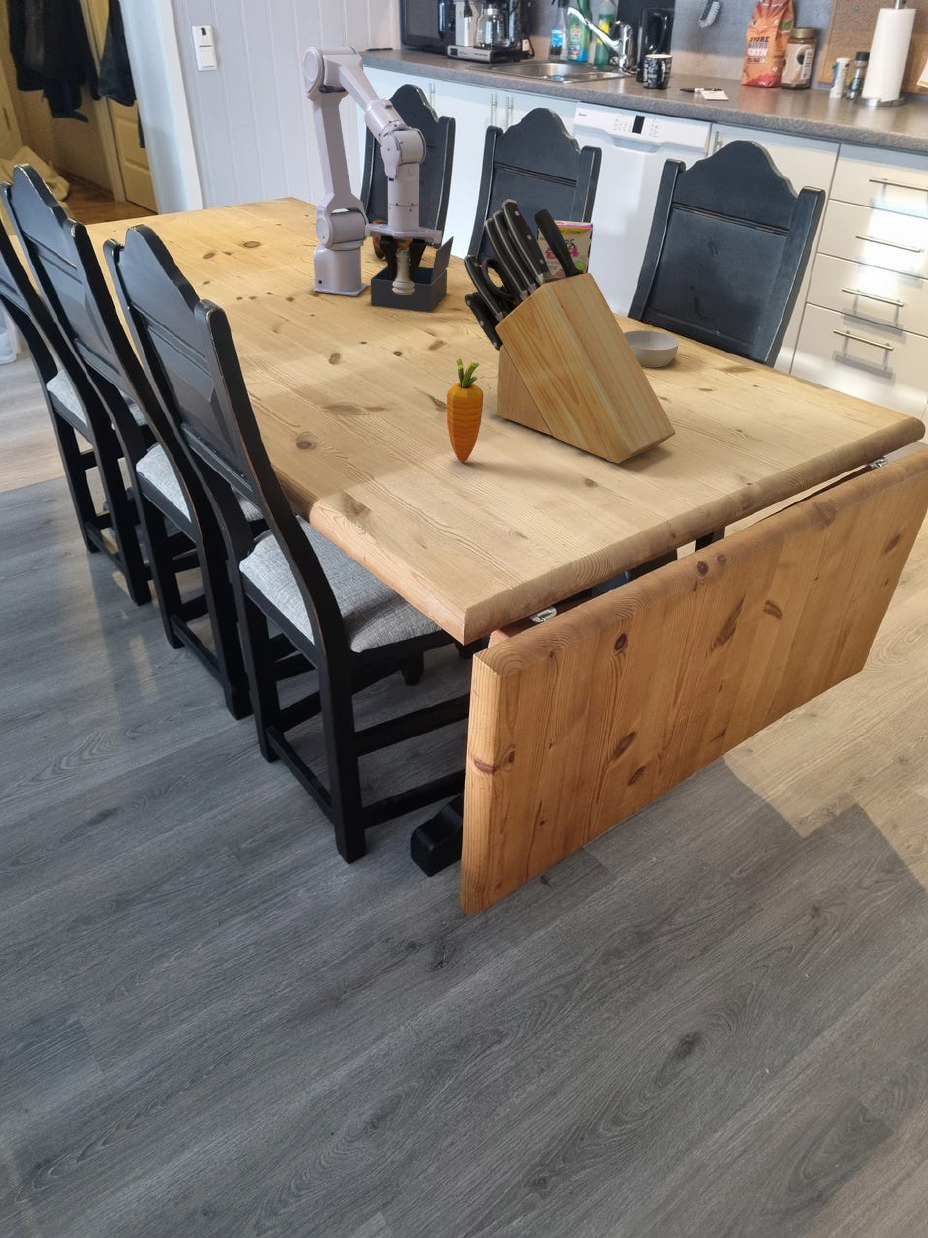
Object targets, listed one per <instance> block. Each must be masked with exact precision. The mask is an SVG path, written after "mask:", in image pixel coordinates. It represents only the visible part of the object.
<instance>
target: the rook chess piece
mask: <svg viewBox="0 0 928 1238" xmlns="http://www.w3.org/2000/svg"><path fill="white" fill-rule="evenodd" d="M395 255H396V257H397V262H396V263H397V274H396V278H395V281H394V282H393V284H392V285H393V286H394V288H393V289H392V290H393V292H394V293H395V294H399V295H410V294H412V293H413V292H414V291H415V289H414V288H413V287H414V286H415V284H414V282H413V281H410V252H409V248H407V250H406V248H404V250H402V248H399V249H397V252H396V254H395Z"/></svg>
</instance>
